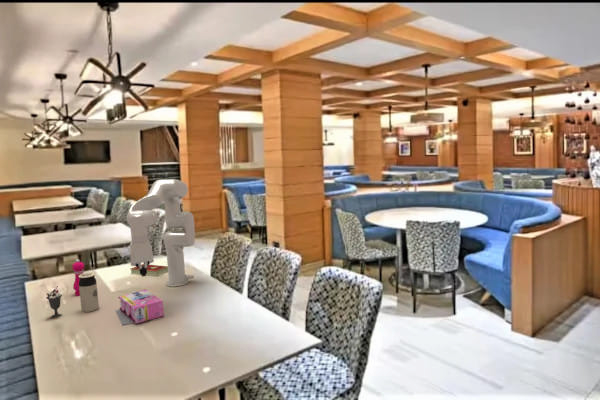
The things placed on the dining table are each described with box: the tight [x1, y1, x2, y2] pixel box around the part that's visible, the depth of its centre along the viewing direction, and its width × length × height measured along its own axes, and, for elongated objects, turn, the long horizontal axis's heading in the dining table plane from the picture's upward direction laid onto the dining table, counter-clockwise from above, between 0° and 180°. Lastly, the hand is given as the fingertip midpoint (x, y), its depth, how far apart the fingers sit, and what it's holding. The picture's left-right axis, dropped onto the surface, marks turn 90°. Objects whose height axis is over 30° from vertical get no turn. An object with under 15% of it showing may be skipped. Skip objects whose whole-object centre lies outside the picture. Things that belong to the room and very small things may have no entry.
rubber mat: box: [115, 308, 135, 326], centre depth 213 cm, size 16×22×1 cm
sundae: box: [46, 287, 63, 319], centre depth 213 cm, size 7×7×15 cm
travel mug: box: [79, 272, 100, 313], centre depth 220 cm, size 8×8×18 cm
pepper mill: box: [72, 259, 85, 297], centre depth 245 cm, size 7×7×20 cm
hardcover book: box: [130, 263, 168, 277], centre depth 283 cm, size 12×21×4 cm, turn 66°
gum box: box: [118, 289, 165, 325], centre depth 212 cm, size 24×8×14 cm
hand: (143, 275), depth 213 cm, fingers closed
